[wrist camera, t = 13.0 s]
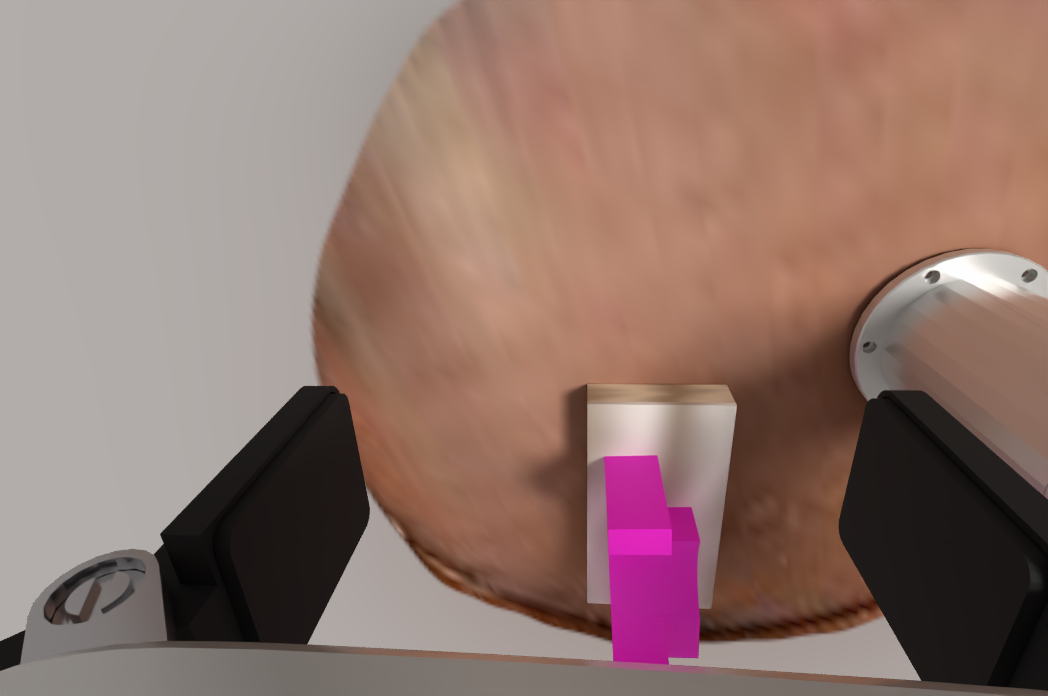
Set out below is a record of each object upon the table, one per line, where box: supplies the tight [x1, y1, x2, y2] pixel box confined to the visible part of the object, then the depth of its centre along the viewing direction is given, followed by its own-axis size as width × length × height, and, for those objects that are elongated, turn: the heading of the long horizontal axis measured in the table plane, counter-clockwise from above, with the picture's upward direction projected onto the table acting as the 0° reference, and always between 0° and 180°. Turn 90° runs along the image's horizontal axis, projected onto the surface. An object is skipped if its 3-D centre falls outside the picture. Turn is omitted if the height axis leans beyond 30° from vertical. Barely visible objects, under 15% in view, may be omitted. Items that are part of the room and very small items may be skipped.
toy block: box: [604, 455, 700, 665], centre depth 40 cm, size 15×6×8 cm, turn 6°
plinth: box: [587, 384, 737, 609], centre depth 43 cm, size 10×19×3 cm, turn 3°
